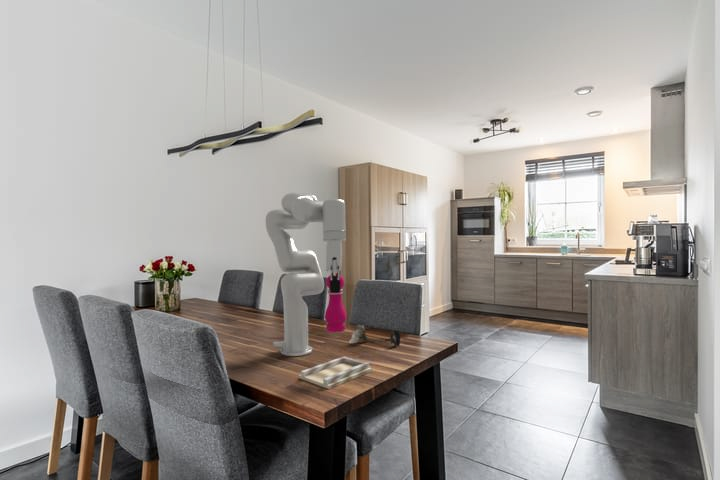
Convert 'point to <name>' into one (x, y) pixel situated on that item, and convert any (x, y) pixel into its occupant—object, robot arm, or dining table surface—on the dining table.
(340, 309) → the pepper mill
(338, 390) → the dining table surface
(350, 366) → the rail board
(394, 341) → the artificial flower
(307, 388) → the dining table surface
